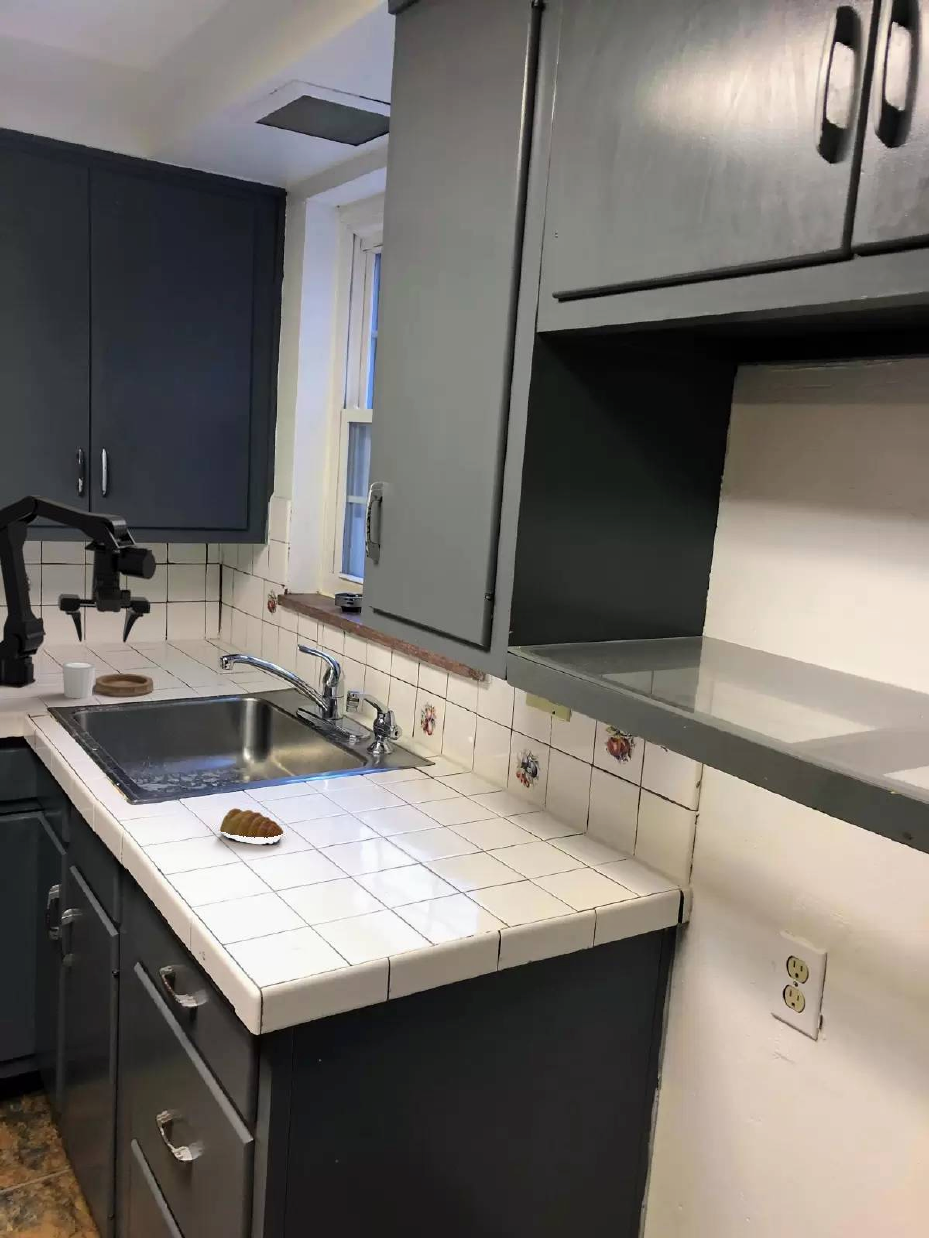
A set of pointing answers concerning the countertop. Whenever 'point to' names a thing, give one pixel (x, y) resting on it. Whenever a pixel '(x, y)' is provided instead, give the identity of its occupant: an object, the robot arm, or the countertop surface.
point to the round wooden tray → (124, 685)
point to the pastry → (249, 824)
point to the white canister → (78, 679)
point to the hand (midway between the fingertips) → (102, 641)
